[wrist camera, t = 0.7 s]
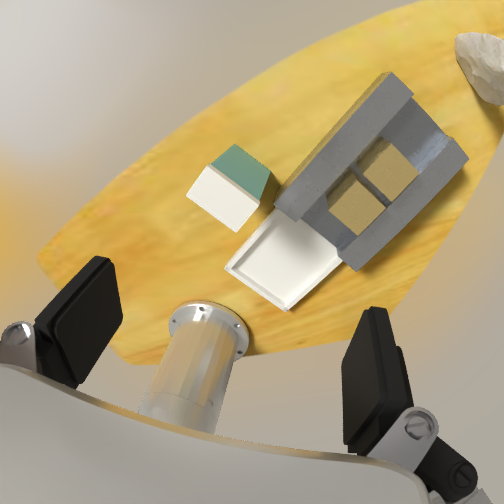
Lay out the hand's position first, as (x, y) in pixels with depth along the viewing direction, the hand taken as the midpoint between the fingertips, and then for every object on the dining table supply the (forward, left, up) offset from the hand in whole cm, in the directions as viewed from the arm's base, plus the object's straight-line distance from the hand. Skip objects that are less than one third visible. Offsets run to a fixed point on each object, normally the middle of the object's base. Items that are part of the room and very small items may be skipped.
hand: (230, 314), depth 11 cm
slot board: (-1, -10, -26) cm, 28 cm away
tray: (-13, 0, -26) cm, 29 cm away
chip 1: (-4, -8, -24) cm, 25 cm away
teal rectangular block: (-1, +4, -26) cm, 26 cm away
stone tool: (+12, -22, -26) cm, 36 cm away
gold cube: (0, -11, -24) cm, 26 cm away
